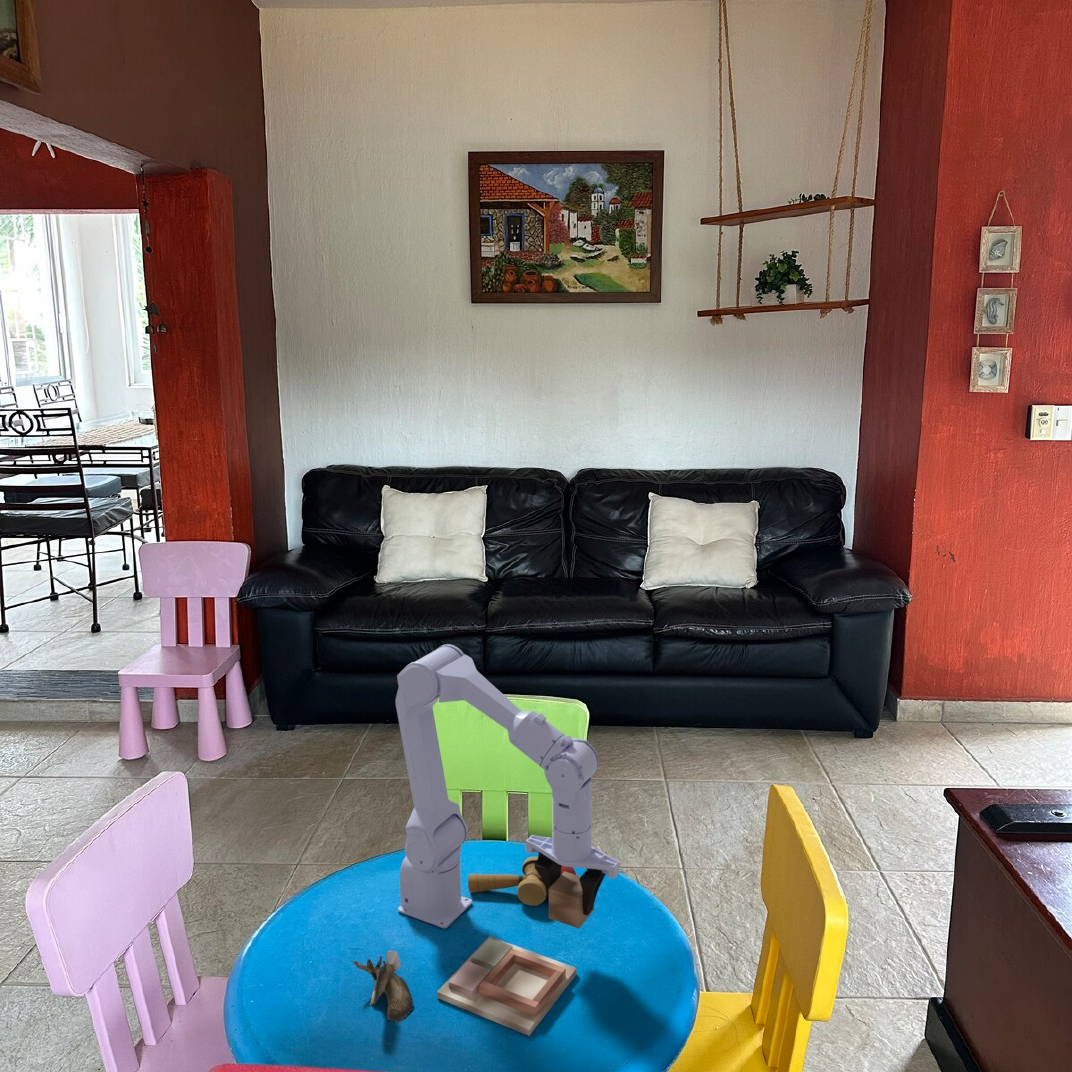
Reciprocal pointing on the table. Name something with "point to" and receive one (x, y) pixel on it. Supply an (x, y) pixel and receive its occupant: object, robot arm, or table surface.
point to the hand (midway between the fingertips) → (571, 905)
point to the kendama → (516, 882)
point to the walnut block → (567, 900)
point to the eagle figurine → (390, 986)
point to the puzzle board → (508, 985)
